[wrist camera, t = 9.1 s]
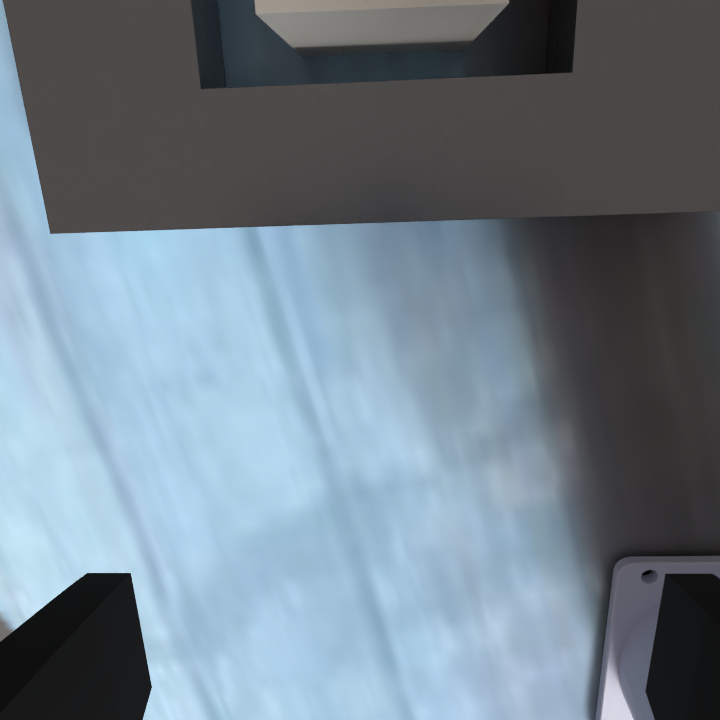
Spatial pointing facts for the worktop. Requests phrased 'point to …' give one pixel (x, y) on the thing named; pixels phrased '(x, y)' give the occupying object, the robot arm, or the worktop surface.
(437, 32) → the plug
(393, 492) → the worktop surface
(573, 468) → the worktop surface
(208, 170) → the socket plate
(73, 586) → the robot arm
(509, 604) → the worktop surface
